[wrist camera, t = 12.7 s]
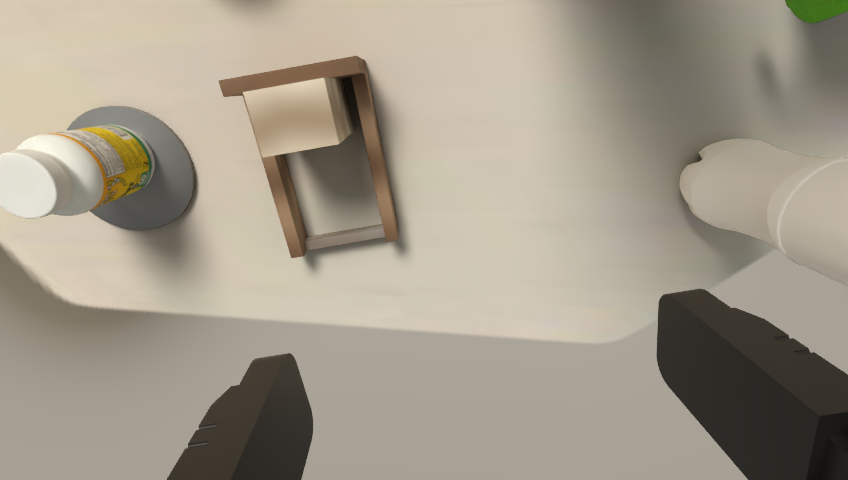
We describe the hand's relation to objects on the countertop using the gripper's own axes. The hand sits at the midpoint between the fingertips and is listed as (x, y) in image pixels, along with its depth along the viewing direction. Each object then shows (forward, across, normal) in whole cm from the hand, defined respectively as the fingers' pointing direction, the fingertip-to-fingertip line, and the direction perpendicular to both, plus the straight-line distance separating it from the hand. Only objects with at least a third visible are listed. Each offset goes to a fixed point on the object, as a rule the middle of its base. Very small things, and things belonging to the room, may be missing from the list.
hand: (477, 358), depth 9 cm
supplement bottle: (+28, +24, -4) cm, 37 cm away
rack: (+28, +8, -1) cm, 29 cm away
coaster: (+28, +24, -3) cm, 37 cm away
